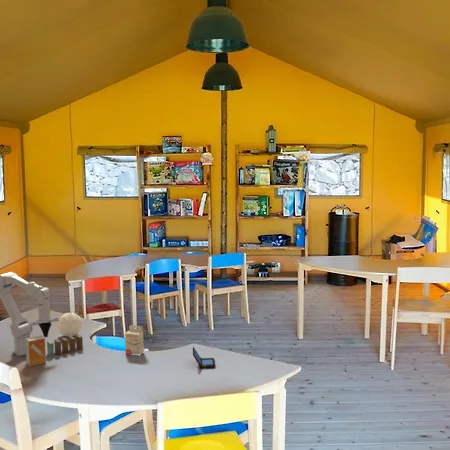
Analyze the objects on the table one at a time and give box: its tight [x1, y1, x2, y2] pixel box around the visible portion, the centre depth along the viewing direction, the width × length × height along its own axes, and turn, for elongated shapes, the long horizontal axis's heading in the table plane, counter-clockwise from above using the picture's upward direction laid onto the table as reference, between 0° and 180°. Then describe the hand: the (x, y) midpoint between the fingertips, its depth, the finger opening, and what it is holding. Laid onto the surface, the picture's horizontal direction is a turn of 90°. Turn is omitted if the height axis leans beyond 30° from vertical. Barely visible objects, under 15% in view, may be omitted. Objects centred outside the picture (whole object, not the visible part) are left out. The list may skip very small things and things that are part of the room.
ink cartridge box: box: [124, 324, 145, 355], centre depth 296 cm, size 9×5×15 cm, turn 71°
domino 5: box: [75, 334, 84, 351], centre depth 306 cm, size 2×5×7 cm, turn 38°
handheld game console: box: [192, 346, 216, 369], centre depth 280 cm, size 12×11×7 cm
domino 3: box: [61, 337, 70, 354], centre depth 302 cm, size 2×5×7 cm, turn 37°
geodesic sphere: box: [57, 312, 83, 338], centre depth 329 cm, size 15×14×14 cm
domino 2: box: [53, 338, 62, 356], centre depth 299 cm, size 2×5×7 cm, turn 37°
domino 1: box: [46, 340, 55, 357], centre depth 297 cm, size 2×5×7 cm, turn 37°
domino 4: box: [68, 336, 77, 353], centre depth 304 cm, size 2×5×7 cm, turn 37°
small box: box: [25, 335, 47, 367], centre depth 285 cm, size 8×6×13 cm
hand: (45, 336), depth 295 cm, fingers closed
